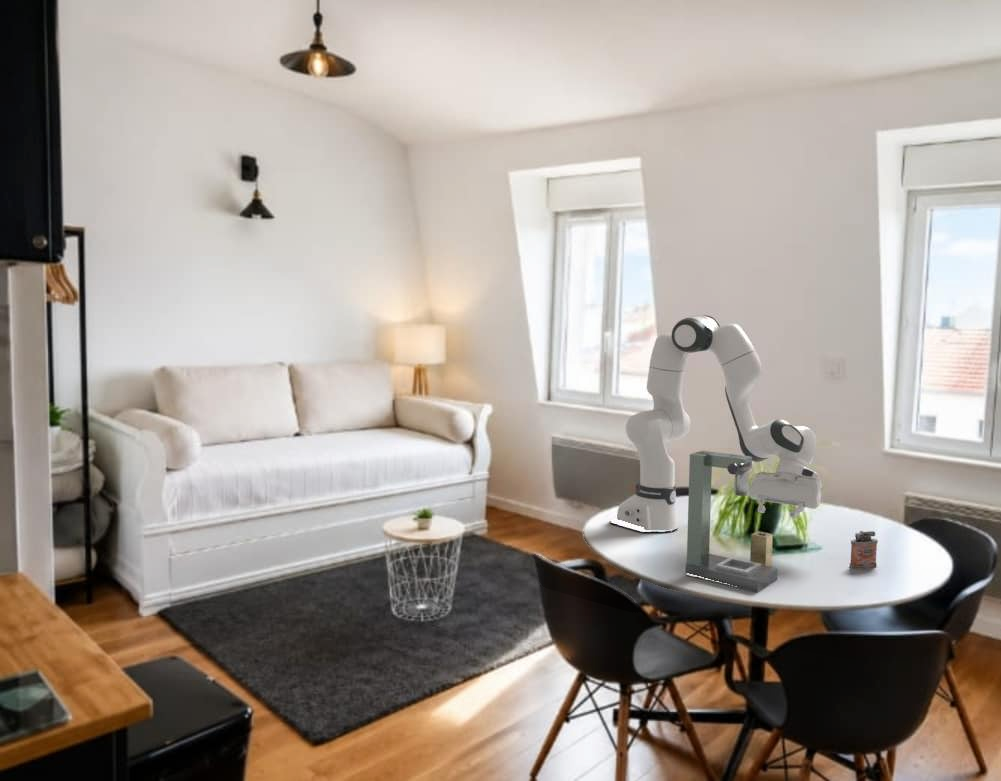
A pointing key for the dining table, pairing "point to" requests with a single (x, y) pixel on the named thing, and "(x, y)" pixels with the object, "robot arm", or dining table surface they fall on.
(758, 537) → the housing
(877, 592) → the dining table surface
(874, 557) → the lighter
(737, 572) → the press
